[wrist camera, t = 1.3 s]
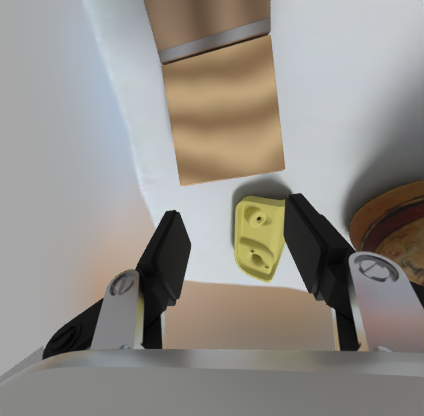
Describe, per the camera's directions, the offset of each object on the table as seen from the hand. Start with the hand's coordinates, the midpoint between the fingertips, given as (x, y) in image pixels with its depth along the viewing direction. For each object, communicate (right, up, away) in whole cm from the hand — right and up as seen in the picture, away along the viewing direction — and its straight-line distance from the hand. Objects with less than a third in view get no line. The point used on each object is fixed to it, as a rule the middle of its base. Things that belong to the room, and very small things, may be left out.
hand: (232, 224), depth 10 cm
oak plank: (0, +13, +12) cm, 18 cm away
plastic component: (+10, -4, +28) cm, 30 cm away
